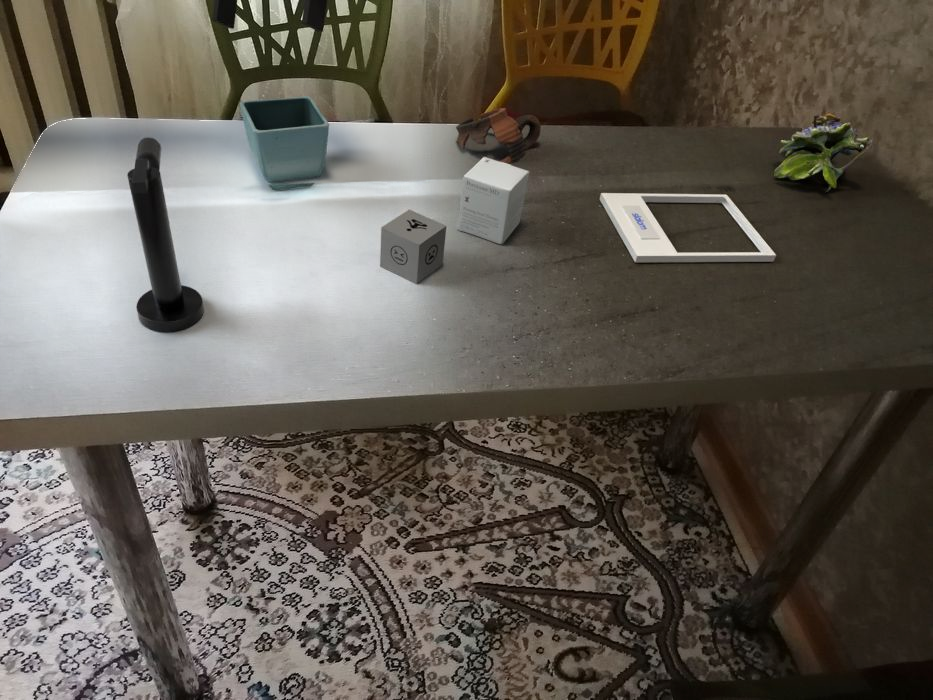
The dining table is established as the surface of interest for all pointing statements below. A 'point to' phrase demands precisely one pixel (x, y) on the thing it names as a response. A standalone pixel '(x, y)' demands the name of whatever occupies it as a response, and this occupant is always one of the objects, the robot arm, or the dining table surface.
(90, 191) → the dining table surface
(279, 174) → the flower pot
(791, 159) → the passion flower
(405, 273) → the dice cube
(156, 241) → the tap
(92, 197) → the dining table surface
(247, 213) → the dining table surface
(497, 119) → the pottery mug
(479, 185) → the product box
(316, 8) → the robot arm
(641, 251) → the photo frame
